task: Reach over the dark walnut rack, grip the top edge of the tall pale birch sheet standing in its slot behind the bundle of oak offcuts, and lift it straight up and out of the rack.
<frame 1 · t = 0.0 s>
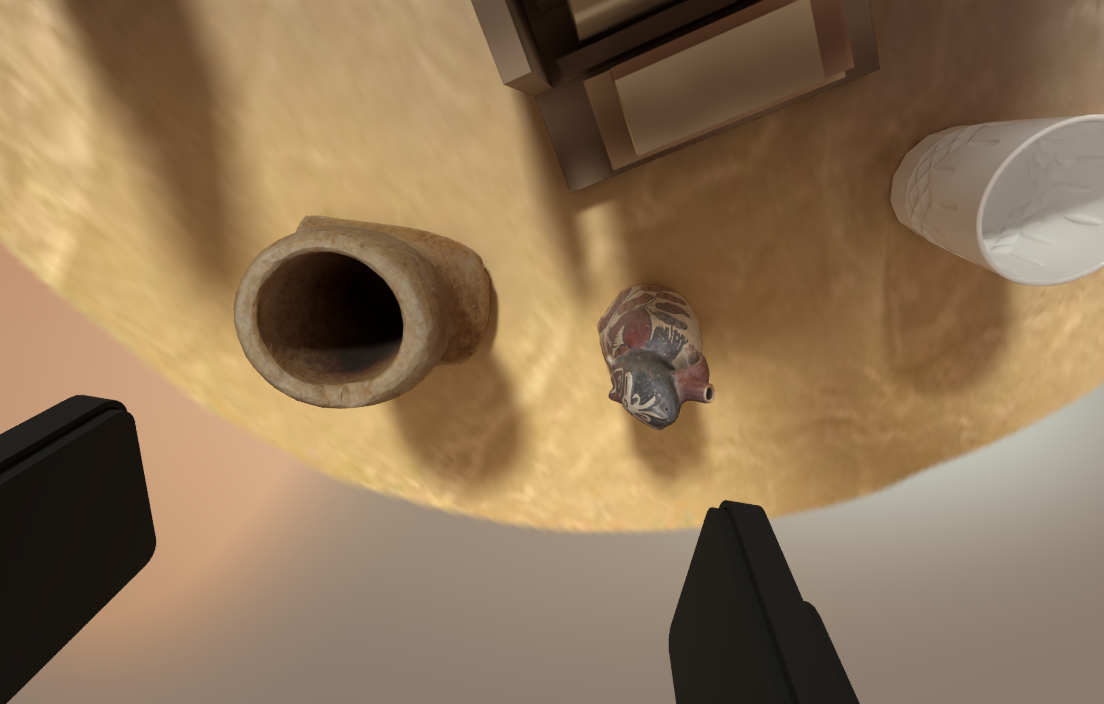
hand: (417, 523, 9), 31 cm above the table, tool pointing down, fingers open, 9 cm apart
clay boot figure: (392, 274, 40), on the table
offcut bundle: (702, 82, 33), point 1 cm above the table, touching walnut rack
white cup: (943, 182, 35), on the table
figurine: (646, 328, 41), on the table
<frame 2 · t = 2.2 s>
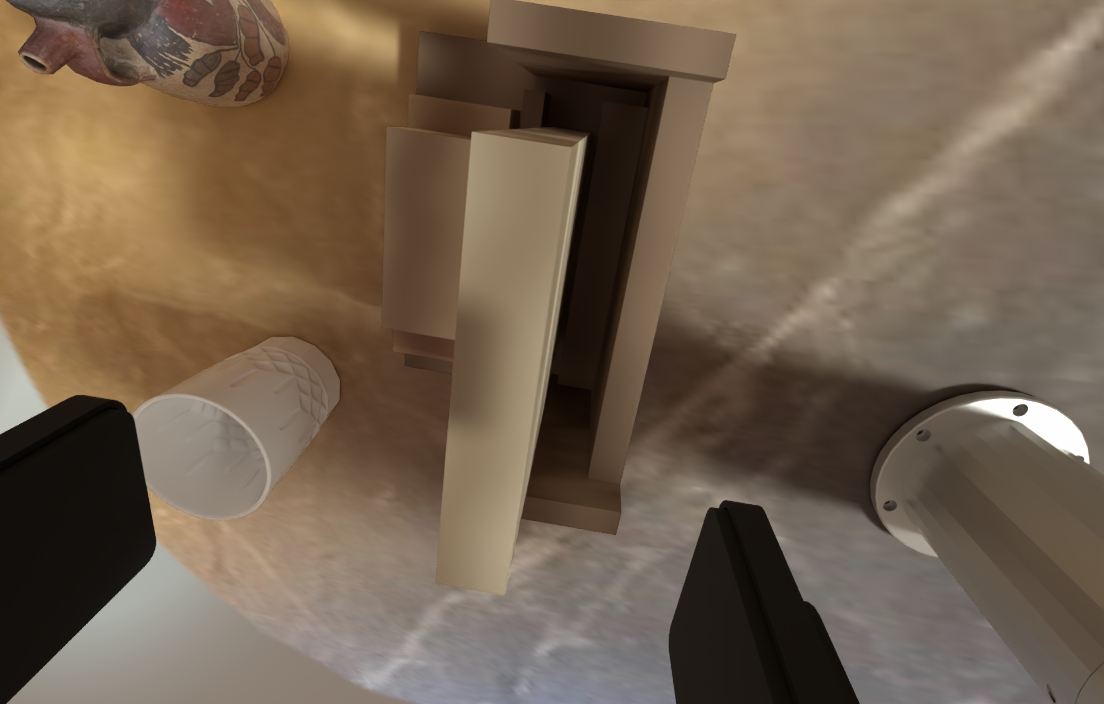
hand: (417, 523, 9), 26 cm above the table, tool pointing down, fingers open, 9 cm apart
birch sheet: (556, 241, 32), point 1 cm above the table, touching walnut rack
offcut bundle: (463, 226, 32), point 1 cm above the table, touching walnut rack
walnut rack: (558, 236, 33), on the table
white cup: (296, 378, 39), on the table
figurine: (229, 37, 31), on the table
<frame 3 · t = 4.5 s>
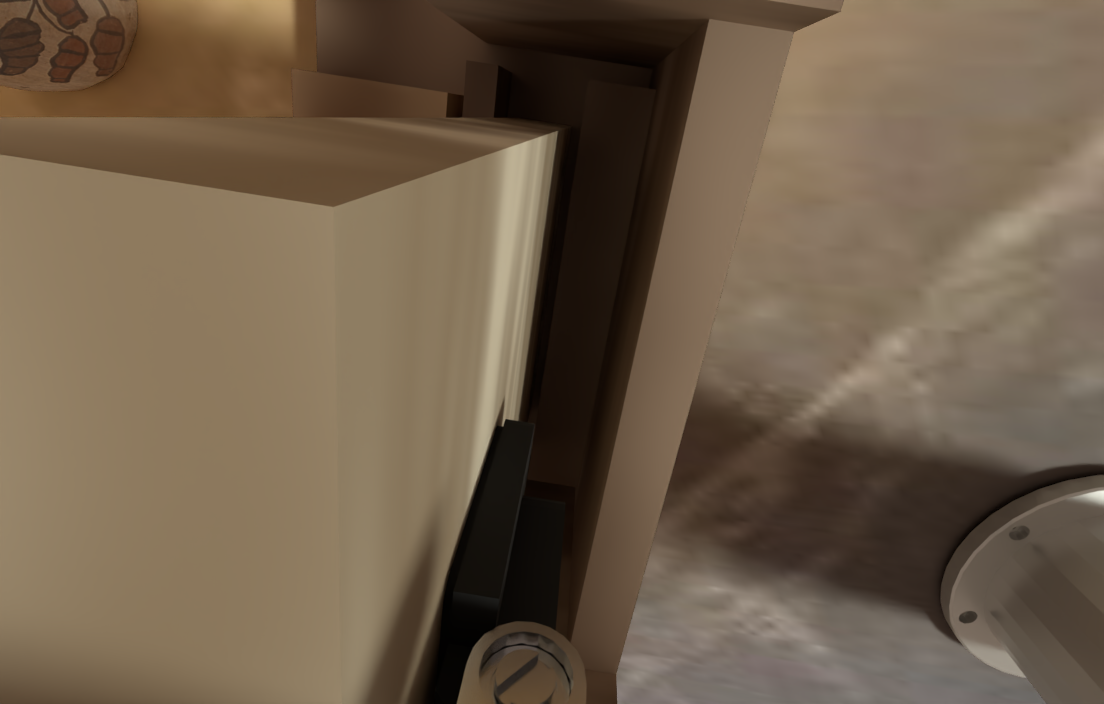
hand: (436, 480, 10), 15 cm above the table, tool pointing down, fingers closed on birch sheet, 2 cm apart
birch sheet: (524, 279, 23), point 2 cm above the table, touching gripper, walnut rack
offcut bundle: (394, 259, 23), point 1 cm above the table, touching walnut rack
walnut rack: (528, 271, 24), on the table
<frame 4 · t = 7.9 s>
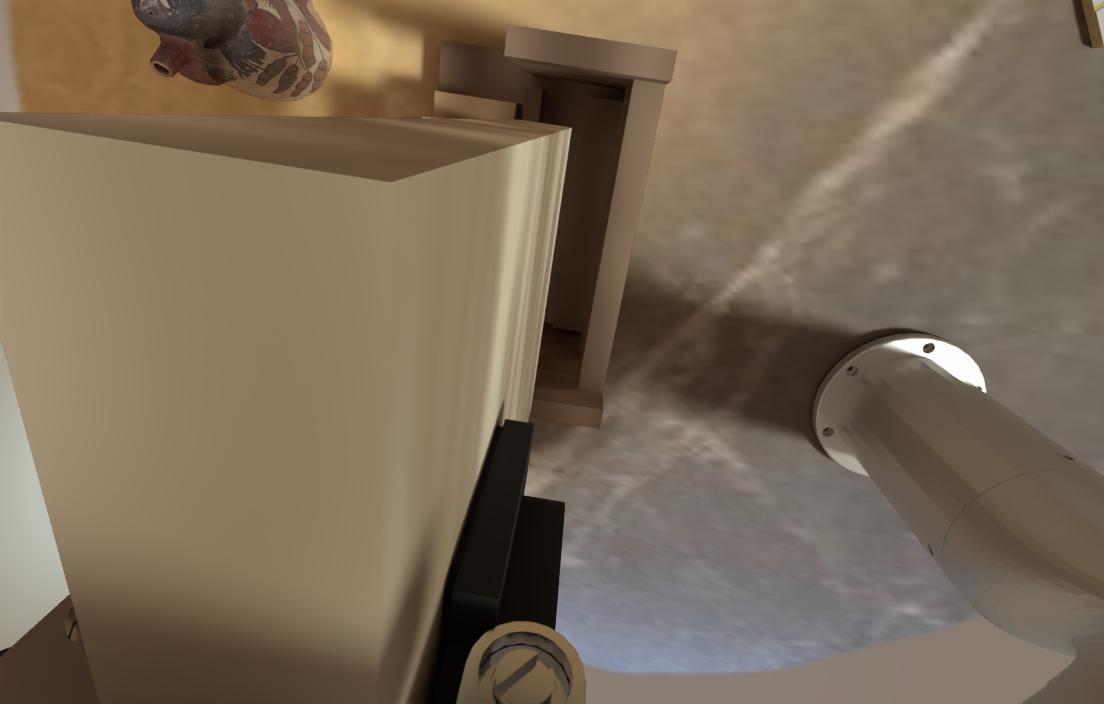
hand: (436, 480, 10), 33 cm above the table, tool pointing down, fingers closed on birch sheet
birch sheet: (526, 277, 23), point 19 cm above the table, touching gripper
offcut bundle: (475, 198, 39), point 1 cm above the table, touching walnut rack
walnut rack: (552, 207, 40), on the table
figurine: (283, 44, 38), on the table
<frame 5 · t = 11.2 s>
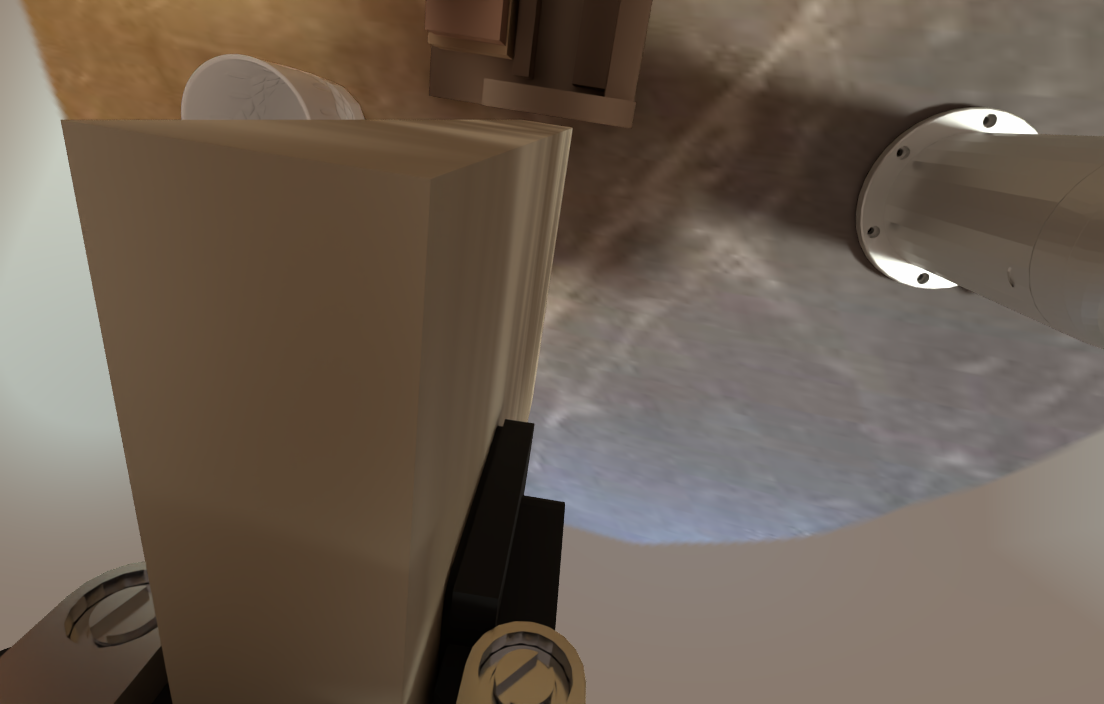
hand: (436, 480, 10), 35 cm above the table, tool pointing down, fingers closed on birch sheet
birch sheet: (527, 273, 24), point 20 cm above the table, touching gripper
white cup: (325, 127, 42), on the table
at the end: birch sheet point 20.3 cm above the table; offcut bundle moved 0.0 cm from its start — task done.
